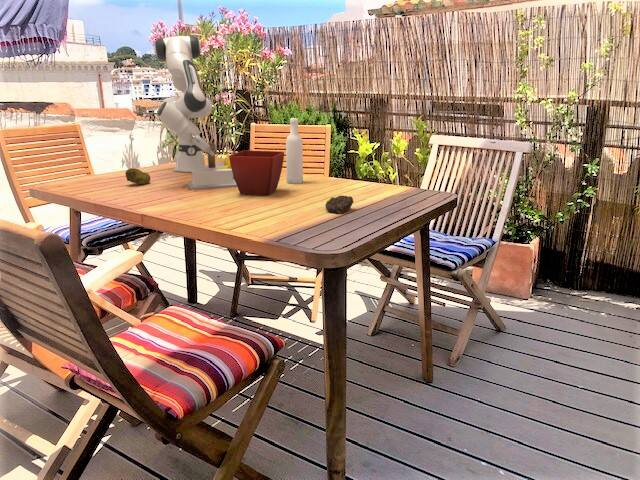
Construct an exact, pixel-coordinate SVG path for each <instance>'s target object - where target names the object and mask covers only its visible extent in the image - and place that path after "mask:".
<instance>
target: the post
mask: <svg viewBox="0 0 640 480" xmlns="http://www.w3.org/2000/svg"><path fill="white" fill-rule="evenodd" d="M207 143H208V144H209V145H210V149H211V150H212V151H213V152H214V153H215V155H214V156H211V155H210V154H209V153H207V163H208V164H207V165H208V168H216V166H215V163H216V150H215V149H216V148H215V142H207Z"/></svg>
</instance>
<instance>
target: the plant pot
mask: <svg viewBox="0 0 640 480" xmlns="http://www.w3.org/2000/svg"><path fill="white" fill-rule="evenodd" d="M231 154H232V155H230V154H229V155H230V156H229V155H228V156H229V160H230V164H231V168H232V172H233V176H234V178H233V180H235V182H236V184H237V187H236V188H237V189H238V192H239V194H240V195H253V196H254V195H255V196H270V195H271V194H273V192H275V191H277V189H278V186H279V182H280V179H281V173H282V170H283V166H284V165H283V164H284V158H285V151H279V150H278V151H273V150H246V149H245V150H241V151H238V152H236V153H231Z"/></svg>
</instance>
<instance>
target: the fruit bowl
mask: <svg viewBox="0 0 640 480" xmlns="http://www.w3.org/2000/svg"><path fill="white" fill-rule="evenodd" d="M232 154H233V153H230V154H229V155H228V156H226V158H225V159H224V161H222V162H215V166H216V168H208V170H216V169H232V168H231V164H230V160H229V156H230V155H232ZM206 167H208V164H207V165H206ZM233 179H234V176H233Z"/></svg>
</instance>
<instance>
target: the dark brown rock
mask: <svg viewBox="0 0 640 480" xmlns="http://www.w3.org/2000/svg"><path fill="white" fill-rule="evenodd" d="M353 204H354V199H353V197H352V196H347V195H338V196H337V197H335V196H331V197H330V199H328V200H327V201H326V203H325V204H324V205H325V209H326V211H327V212H328V213H332V214H342V213H345V212H347V211H349V210H351V208H352V206H353Z"/></svg>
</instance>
